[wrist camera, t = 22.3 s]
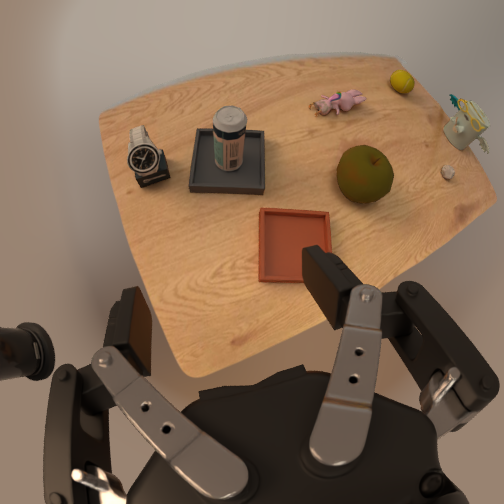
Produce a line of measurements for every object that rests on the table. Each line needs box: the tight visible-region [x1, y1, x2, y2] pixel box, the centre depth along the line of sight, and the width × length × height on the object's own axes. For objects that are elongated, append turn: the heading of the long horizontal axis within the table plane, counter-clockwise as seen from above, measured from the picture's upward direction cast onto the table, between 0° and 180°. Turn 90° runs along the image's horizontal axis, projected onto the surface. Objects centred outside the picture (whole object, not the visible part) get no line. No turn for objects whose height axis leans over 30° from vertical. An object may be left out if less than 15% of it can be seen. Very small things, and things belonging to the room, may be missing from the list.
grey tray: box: [189, 129, 265, 195], centre depth 45 cm, size 12×12×2 cm
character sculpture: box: [444, 95, 490, 154], centre depth 49 cm, size 20×12×13 cm, turn 19°
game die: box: [441, 165, 455, 179], centre depth 50 cm, size 4×4×3 cm
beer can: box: [213, 106, 247, 171], centre depth 39 cm, size 5×5×12 cm
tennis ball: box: [390, 70, 414, 93], centre depth 54 cm, size 7×7×7 cm
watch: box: [127, 125, 170, 188], centre depth 39 cm, size 6×8×11 cm
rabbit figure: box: [309, 90, 366, 116], centre depth 49 cm, size 6×6×15 cm
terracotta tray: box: [259, 208, 332, 283], centre depth 42 cm, size 11×11×2 cm
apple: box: [337, 145, 394, 203], centre depth 42 cm, size 10×10×11 cm
